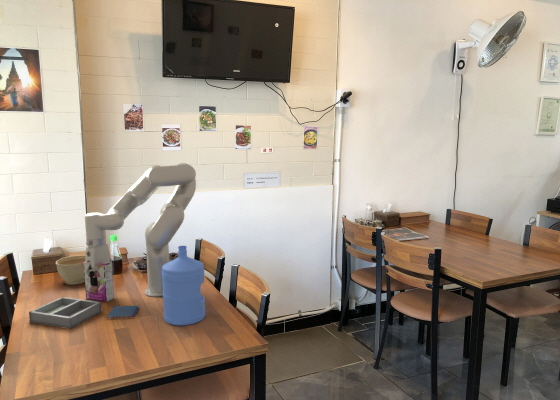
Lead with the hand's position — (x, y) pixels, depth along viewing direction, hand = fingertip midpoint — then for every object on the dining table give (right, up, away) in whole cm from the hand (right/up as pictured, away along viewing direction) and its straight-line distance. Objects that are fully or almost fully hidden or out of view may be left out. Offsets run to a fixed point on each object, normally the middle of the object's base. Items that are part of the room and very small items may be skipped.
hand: (99, 283), depth 181 cm
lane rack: (-5, -10, -17) cm, 20 cm away
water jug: (+41, -10, -18) cm, 45 cm away
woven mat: (+16, -10, -14) cm, 23 cm away
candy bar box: (0, -7, +1) cm, 7 cm away
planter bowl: (-21, -4, +23) cm, 31 cm away
